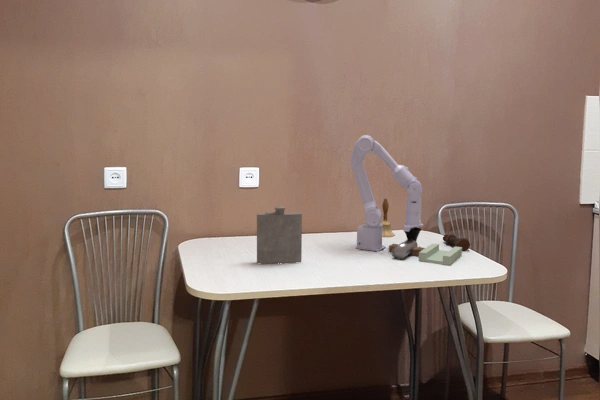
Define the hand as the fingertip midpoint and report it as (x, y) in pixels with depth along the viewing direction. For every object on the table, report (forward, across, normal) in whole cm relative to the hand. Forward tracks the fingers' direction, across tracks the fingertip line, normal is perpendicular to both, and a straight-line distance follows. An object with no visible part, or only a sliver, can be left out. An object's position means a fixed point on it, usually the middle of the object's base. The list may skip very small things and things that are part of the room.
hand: (411, 246), depth 221 cm
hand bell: (+2, +20, +19) cm, 27 cm away
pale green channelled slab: (+2, -6, -13) cm, 14 cm away
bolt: (+2, +15, -12) cm, 20 cm away
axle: (-1, -9, 0) cm, 9 cm away
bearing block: (+2, -5, 0) cm, 6 cm away
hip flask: (+2, -42, +34) cm, 54 cm away
